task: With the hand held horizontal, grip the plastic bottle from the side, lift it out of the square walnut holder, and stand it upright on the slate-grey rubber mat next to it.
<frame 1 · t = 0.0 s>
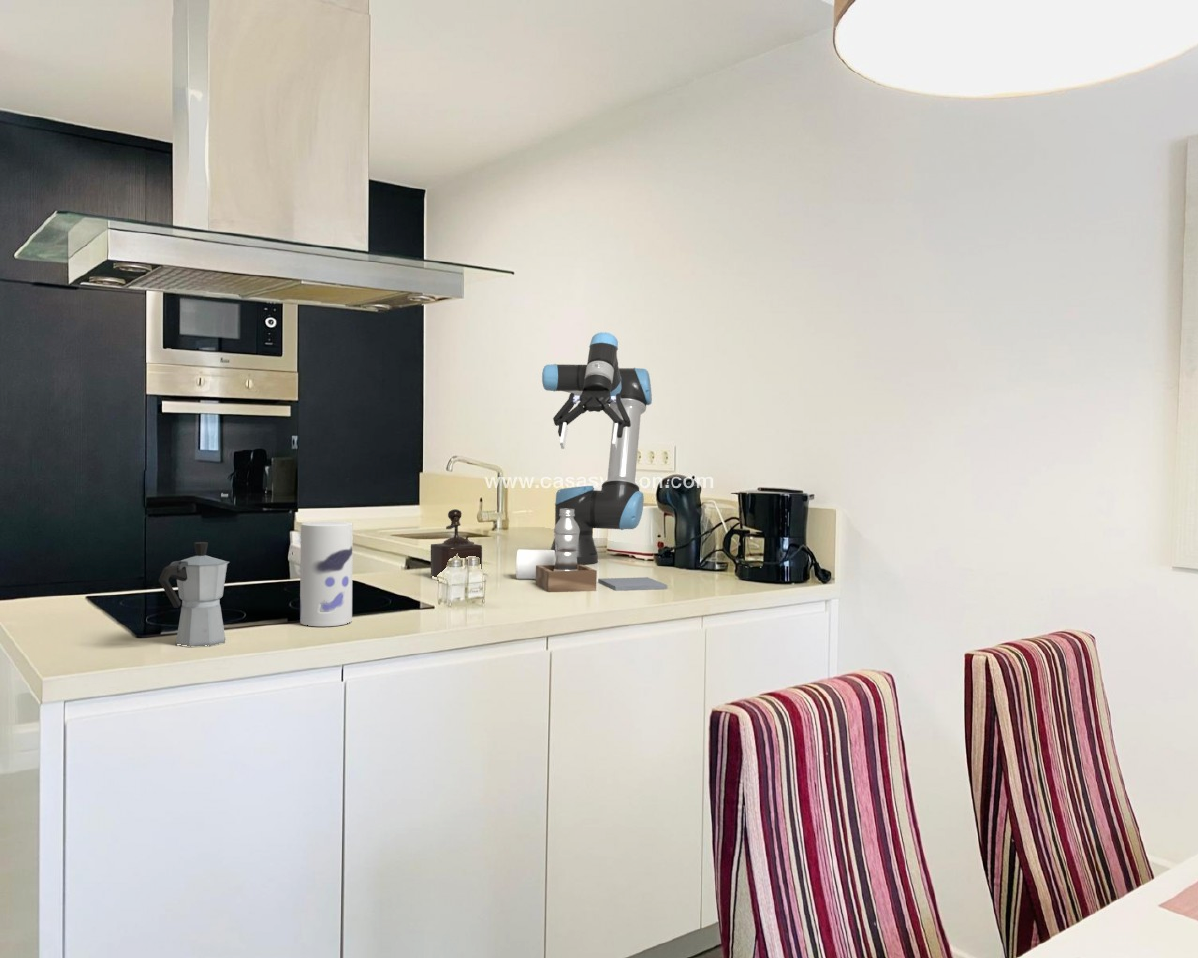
hand: (587, 446, 248), 36 cm above the countertop, tool tilted 35°, fingers open, 13 cm apart
holder: (565, 587, 246), on the countertop
mat: (632, 585, 251), on the countertop
manual coffee grinder: (452, 578, 259), on the countertop
coffee maker: (195, 644, 173), on the countertop
container: (326, 623, 194), on the countertop
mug: (536, 579, 262), on the countertop
plastic bottle: (565, 588, 246), resting in holder
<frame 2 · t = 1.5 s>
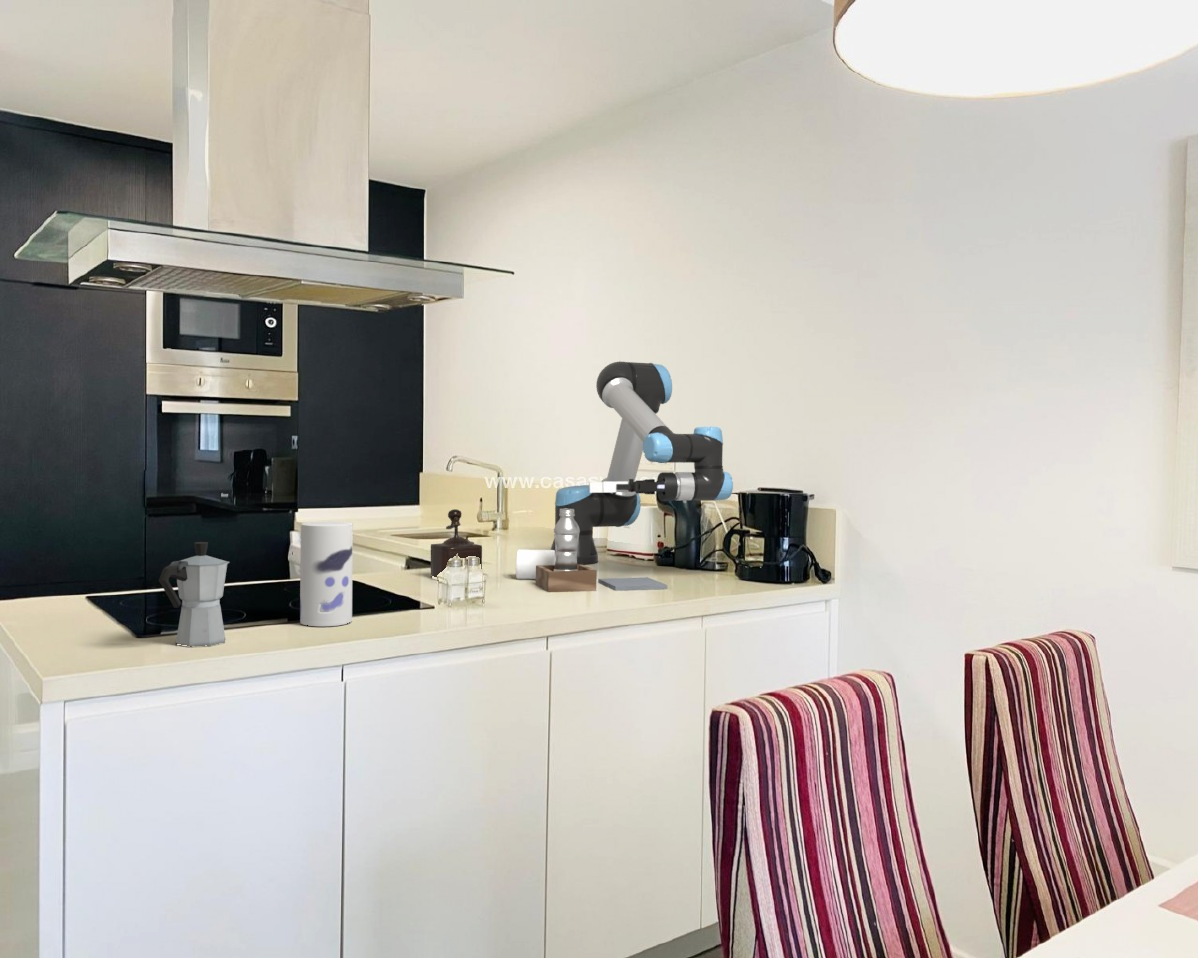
hand: (595, 487, 249), 25 cm above the countertop, tool horizontal, fingers open, 13 cm apart
nothing on the countertop moved.
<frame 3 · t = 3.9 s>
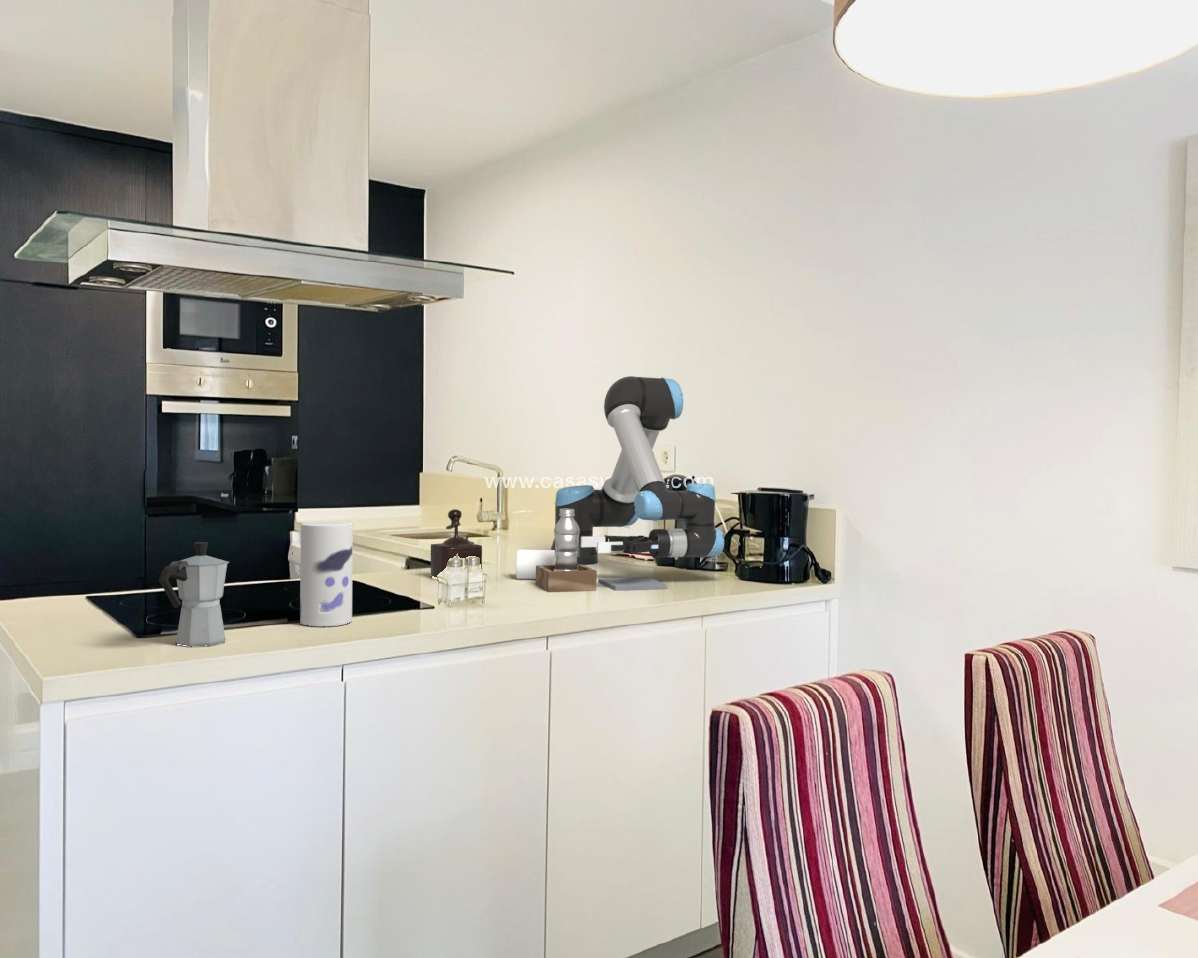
hand: (589, 544, 247), 11 cm above the countertop, tool horizontal, fingers open, 13 cm apart
nothing on the countertop moved.
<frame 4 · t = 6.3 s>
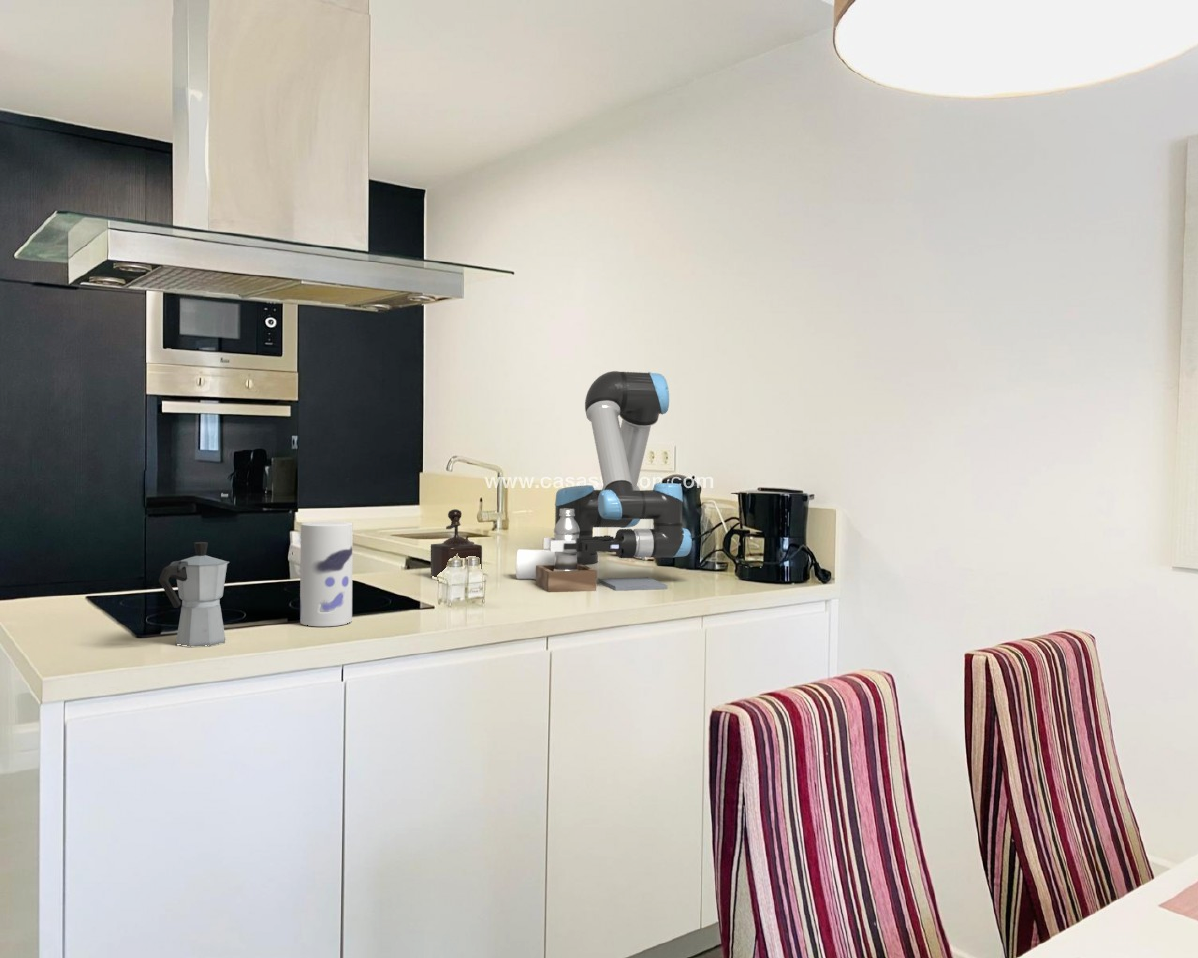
hand: (546, 544, 244), 11 cm above the countertop, tool horizontal, fingers closed on plastic bottle, 6 cm apart
plastic bottle: (565, 588, 246), resting in holder, touching gripper
everything else where it was.
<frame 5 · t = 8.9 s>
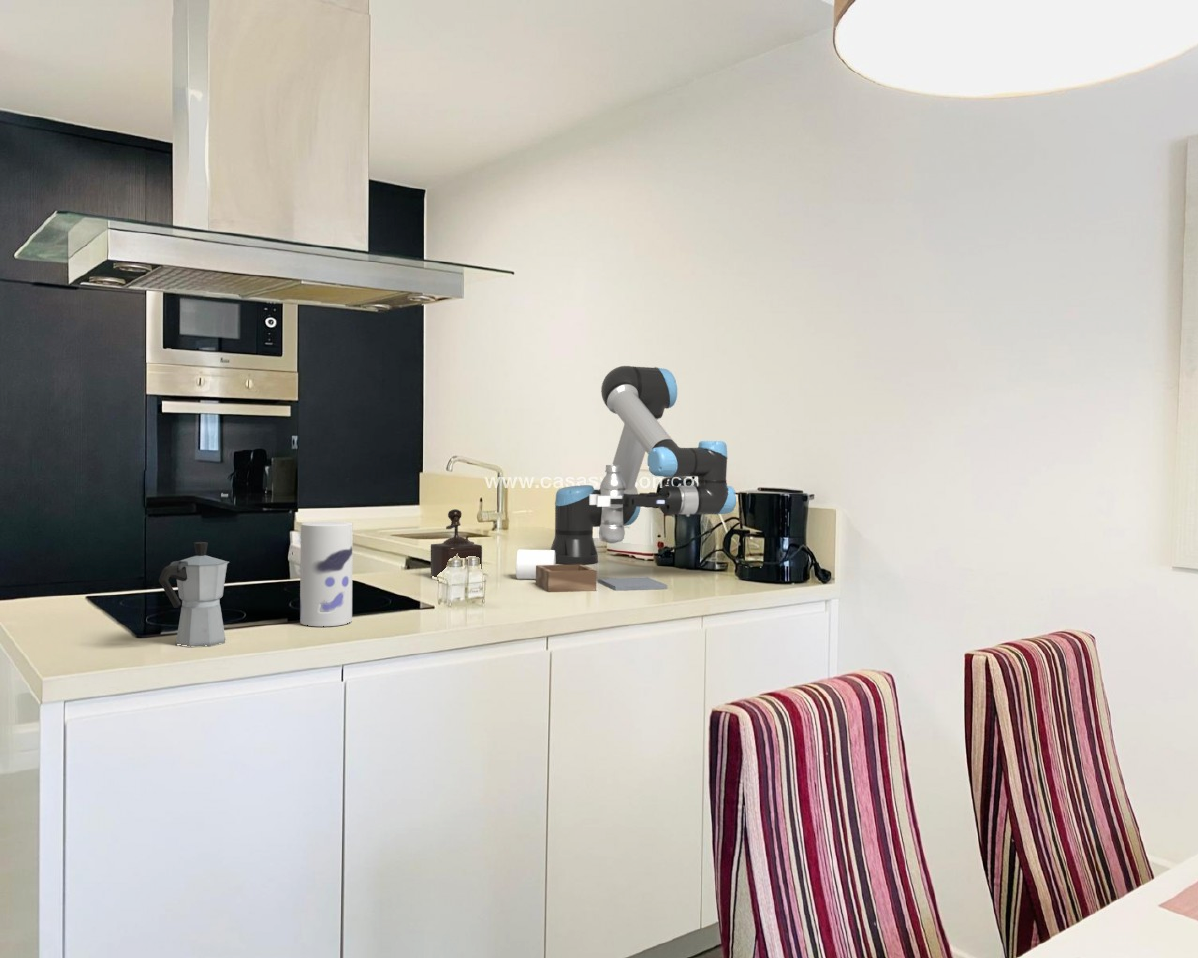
hand: (593, 500, 247), 22 cm above the countertop, tool horizontal, fingers closed on plastic bottle, 6 cm apart
plastic bottle: (611, 543, 249), point 11 cm above the countertop, touching gripper
everything else where it was.
when the fingers open (13 cm above the countertop, at t = 11.7 s): plastic bottle drops 1 cm, resting on mat.
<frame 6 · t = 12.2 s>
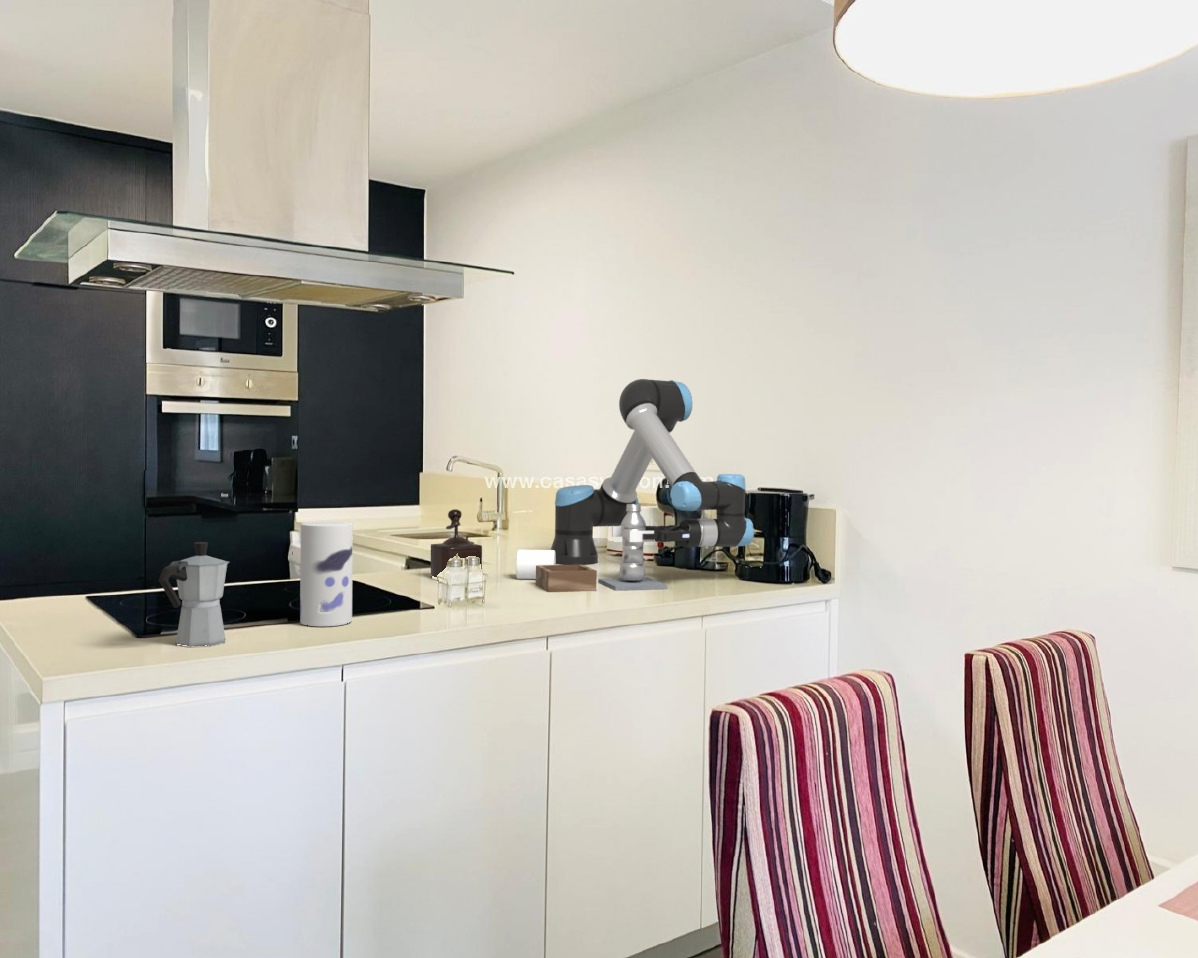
hand: (620, 533, 250), 13 cm above the countertop, tool horizontal, fingers open, 12 cm apart
plastic bottle: (632, 582, 251), point 1 cm above the countertop, touching mat
everything else where it was.
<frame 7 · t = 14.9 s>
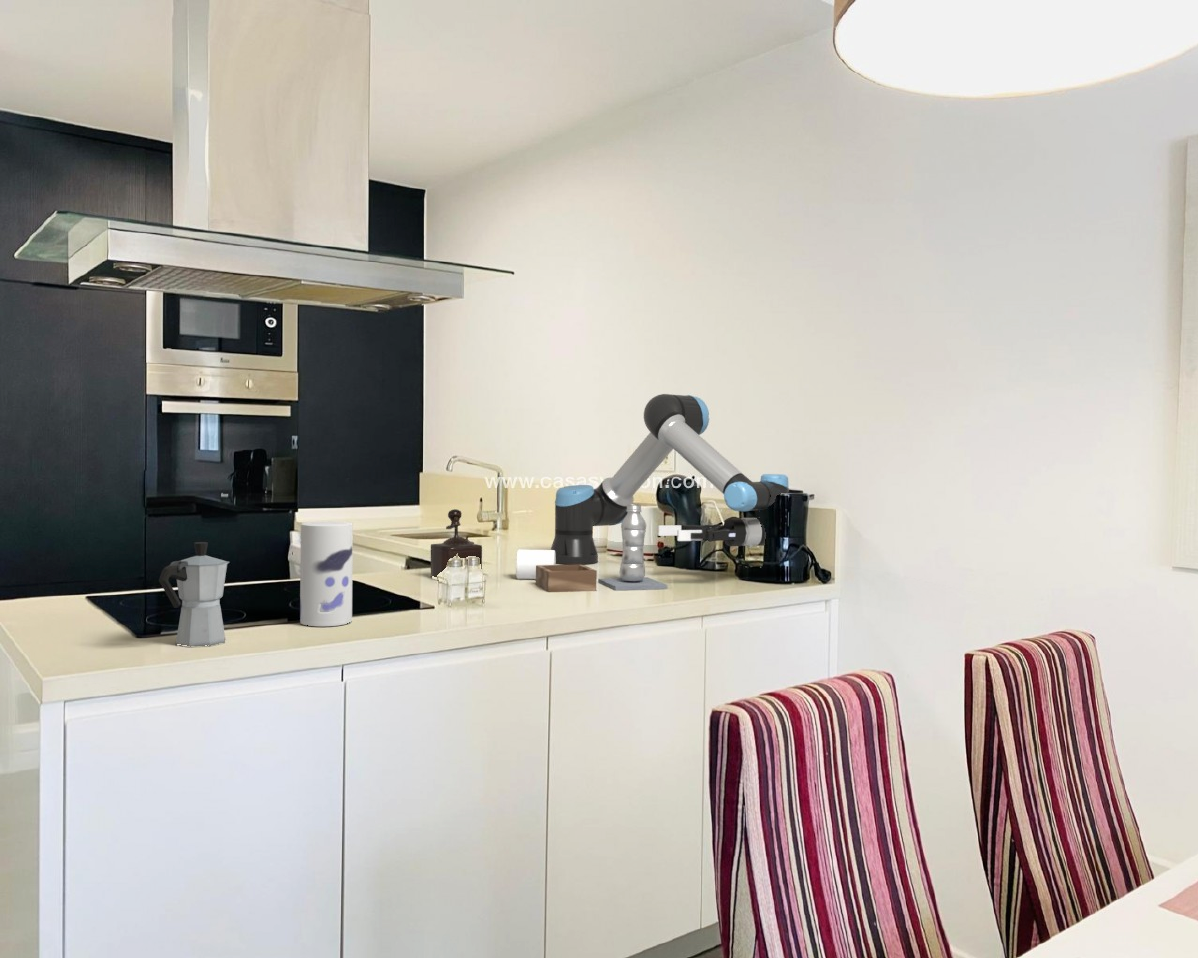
hand: (667, 533, 254), 14 cm above the countertop, tool horizontal, fingers open, 13 cm apart
nothing on the countertop moved.
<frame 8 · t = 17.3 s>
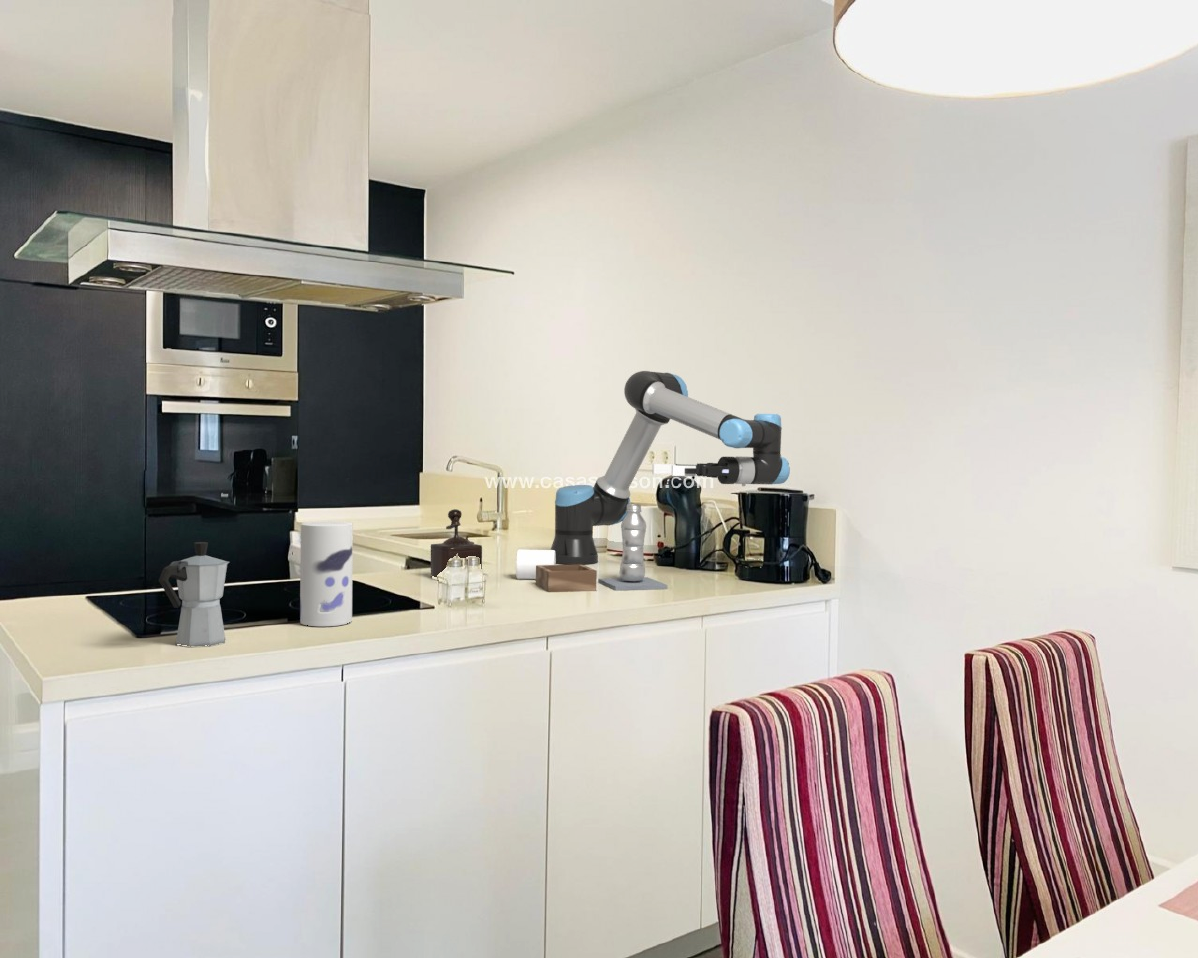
hand: (662, 469, 258), 30 cm above the countertop, tool horizontal, fingers open, 13 cm apart
nothing on the countertop moved.
at the end: plastic bottle inside the target area on the mat (0.0 cm from its centre), point 0.8 cm above the mat's base; plastic bottle tilted 0° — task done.
